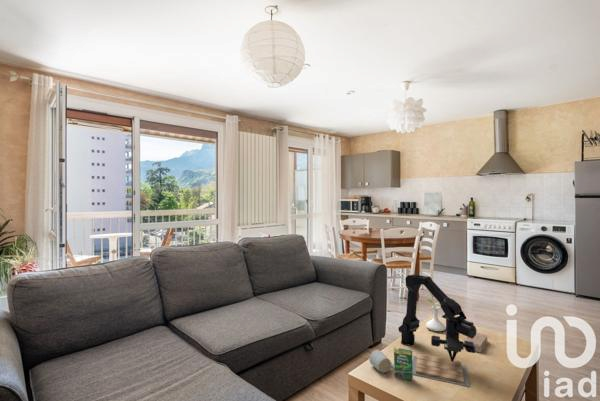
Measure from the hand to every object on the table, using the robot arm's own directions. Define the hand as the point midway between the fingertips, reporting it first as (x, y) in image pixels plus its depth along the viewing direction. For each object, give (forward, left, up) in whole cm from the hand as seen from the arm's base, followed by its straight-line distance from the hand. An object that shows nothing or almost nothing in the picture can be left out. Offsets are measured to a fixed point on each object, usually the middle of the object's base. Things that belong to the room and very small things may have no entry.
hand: (452, 361), depth 150 cm
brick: (+13, +29, -4) cm, 32 cm away
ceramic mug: (-31, -13, -4) cm, 34 cm away
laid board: (-6, -9, -3) cm, 11 cm away
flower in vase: (-8, +43, -3) cm, 43 cm away
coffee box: (-21, -17, -3) cm, 28 cm away
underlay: (-6, -5, -3) cm, 8 cm away
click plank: (-6, -2, -2) cm, 7 cm away
